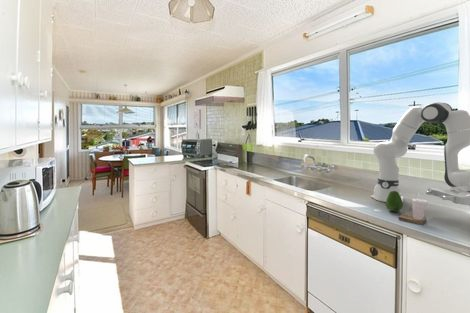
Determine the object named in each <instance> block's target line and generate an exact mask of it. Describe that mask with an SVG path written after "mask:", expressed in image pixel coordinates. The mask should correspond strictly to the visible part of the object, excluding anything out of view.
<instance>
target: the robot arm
mask: <svg viewBox="0 0 470 313" xmlns="http://www.w3.org/2000/svg"><path fill="white" fill-rule="evenodd" d="M425 122H426V123H431V124H443V125H444V126H445V129H446V133H447V141H446V143H445V144H444V147H443V152H444V154H443V157H444V176H443V178H444V179H443V180H444V182H445V183H446V185H448V186H449V187H451V188H450V189H446V188H443V187H431V186H430V187H428V188H427V190H426V191H425V194H426V195H428V196H434V197H437V198H439V199H442V200H443V201H449V202H452V203H453V204H458V205H464V206H470V169H460V168H459V157H458V155H459V154H460V152H461V151H462V150H463V149H465V148H467V147H469V146H470V114H469V112H468V111H466V110H463V109H457V110H453V107H452V106H451V105H450V104H448V103H445V102H440V101H439V102H432V103H429V104H426V105H424V106H423V107H420V106H412V107H410V108H409V109H408V110H407V111H405V113H404V114H403V115H402V117H401V118H400V119H399V121H397V123H396V125H395V126H394V127H393V129H392V135H391V138H390V140H389V141H382V142H379V143H377V144H375V145H374V147H373V154H374V156H375V157H376V159H377V163H378V178H377V182H376V183H377V184H376V185H375V186H374V189H373V195H371V196H370V198H372V199H374V200H377V201H379V202H382V203H383V202H385V203H386V201H387V198H388V195H389V193H390V192H391V191H396V192H398V193H399V194H400V197H401V199H402V204H404V196H402V194H401V189H400V187H399V185H400V181H399V172H400V168H399V166H398V165H397V161H396V159H399V158H401V157H404V156H405V155H406V153H407V152H408V147H409V144H410V141H411V140H412V138H413V137H414V135H415V134H416V132H417V131H418V129H419V128H420V127H421V126H422V124H423V123H425Z"/></svg>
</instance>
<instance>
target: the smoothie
mask: <svg viewBox="0 0 470 313" xmlns="http://www.w3.org/2000/svg"><path fill="white" fill-rule="evenodd" d="M420 195H421V192H420V191H418V193H417V198H412V199H411V202H412V214H413V218H414V219H416V220H422V218H423V217H424V214H425V211H426V207H427V205H428V200H425V199H422V198H420Z"/></svg>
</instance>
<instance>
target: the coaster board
mask: <svg viewBox="0 0 470 313" xmlns="http://www.w3.org/2000/svg"><path fill="white" fill-rule="evenodd" d="M398 220H399V221H403V222H407V223H410V224H411V223H412V224H417V225H421V226H423V225H424V224H425V222H426V221H427V217H426V216H423V218H422V220H416V219H414V218H413V213H406V212H402V214H401V215H399V217H398Z"/></svg>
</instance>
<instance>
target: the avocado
mask: <svg viewBox="0 0 470 313" xmlns="http://www.w3.org/2000/svg"><path fill="white" fill-rule="evenodd" d="M400 195H401V193H400V194H399V193H398V192H396V191H391V192H390V193H389V195H388V198H387V201H386V202H385V205H386V208H387V209H388V210H389V211H391V212H395V213H398V212H400V211H401V210H402V208H403V204H404V203H402V199H401V197H400Z"/></svg>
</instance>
